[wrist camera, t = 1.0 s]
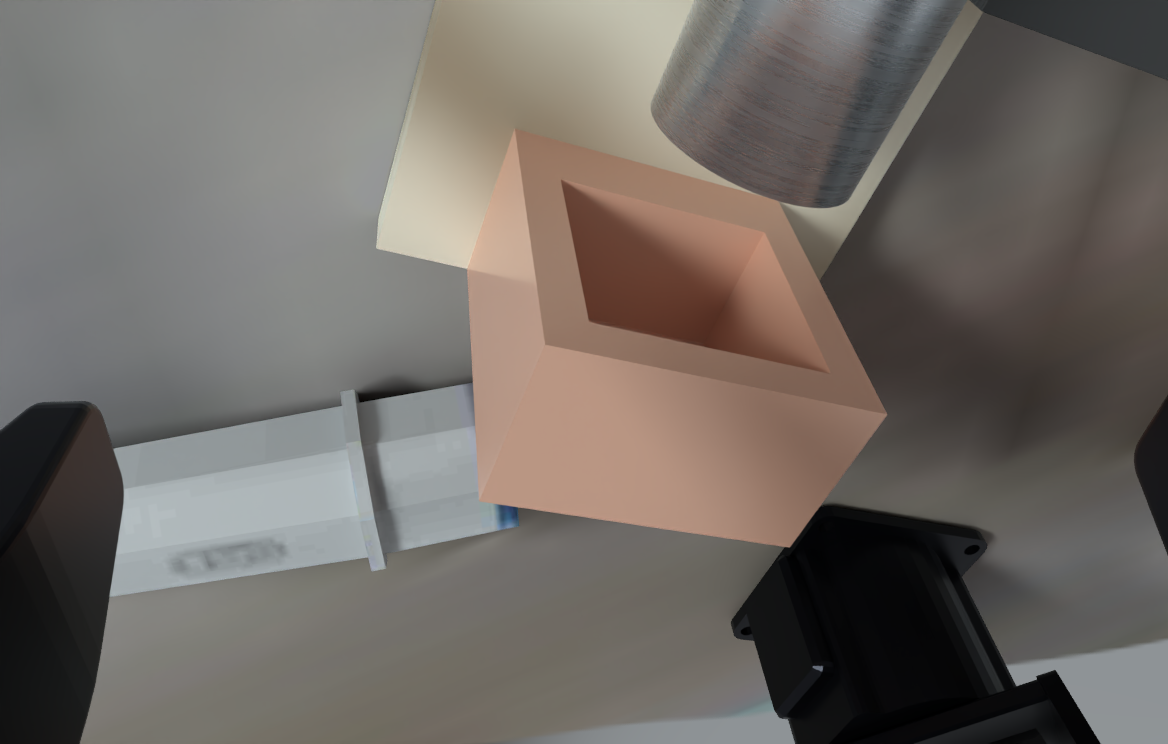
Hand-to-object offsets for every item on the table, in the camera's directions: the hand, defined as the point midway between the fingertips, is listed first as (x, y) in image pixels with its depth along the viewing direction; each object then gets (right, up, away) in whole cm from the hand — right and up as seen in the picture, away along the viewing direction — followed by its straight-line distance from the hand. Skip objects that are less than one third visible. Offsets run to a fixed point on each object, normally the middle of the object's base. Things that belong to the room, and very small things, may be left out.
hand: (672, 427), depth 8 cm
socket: (0, +3, +13) cm, 14 cm away
